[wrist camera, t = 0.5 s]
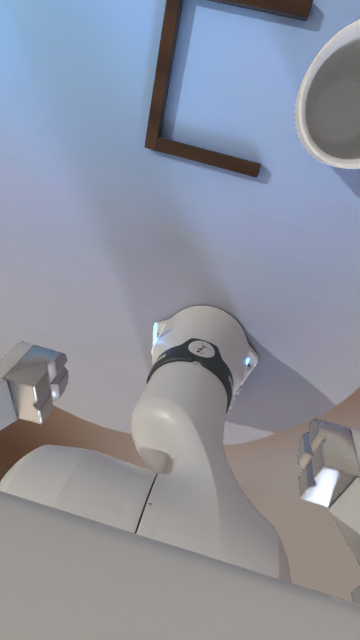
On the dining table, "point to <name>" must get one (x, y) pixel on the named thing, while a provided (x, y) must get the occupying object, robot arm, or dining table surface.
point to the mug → (332, 102)
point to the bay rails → (287, 3)
